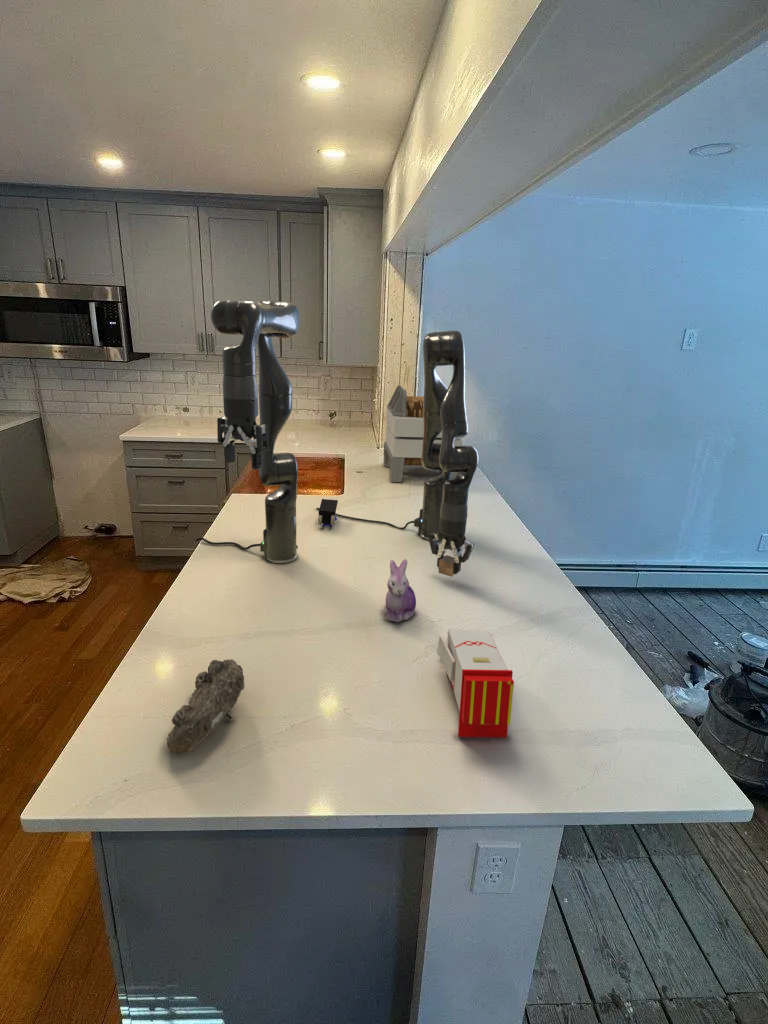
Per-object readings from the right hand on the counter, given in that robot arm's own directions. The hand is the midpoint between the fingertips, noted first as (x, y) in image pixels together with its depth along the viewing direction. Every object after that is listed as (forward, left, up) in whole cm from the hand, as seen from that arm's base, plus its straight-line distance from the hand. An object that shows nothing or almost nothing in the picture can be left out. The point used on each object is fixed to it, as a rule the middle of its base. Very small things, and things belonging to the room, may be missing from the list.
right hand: (448, 570), depth 165 cm
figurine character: (-56, +12, -4) cm, 58 cm away
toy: (+29, -42, -4) cm, 51 cm away
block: (0, 0, 0) cm, 0 cm away
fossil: (-7, -79, -4) cm, 80 cm away
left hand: (-31, -48, +35) cm, 67 cm away
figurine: (0, -25, -4) cm, 25 cm away
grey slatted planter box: (-68, +93, -4) cm, 116 cm away
